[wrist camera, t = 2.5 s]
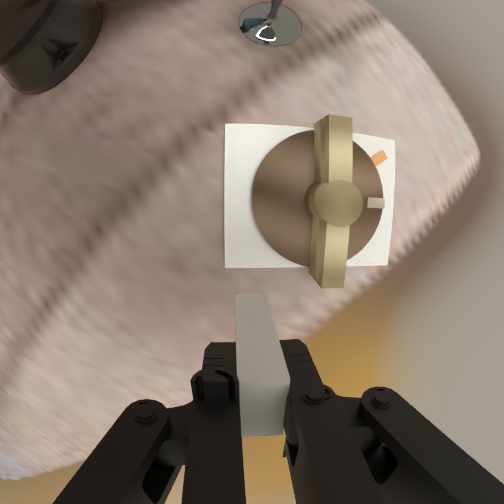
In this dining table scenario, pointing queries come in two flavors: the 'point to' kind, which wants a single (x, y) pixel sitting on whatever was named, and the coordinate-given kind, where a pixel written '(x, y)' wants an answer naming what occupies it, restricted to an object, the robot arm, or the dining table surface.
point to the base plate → (240, 189)
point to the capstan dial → (318, 199)
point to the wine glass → (270, 23)
